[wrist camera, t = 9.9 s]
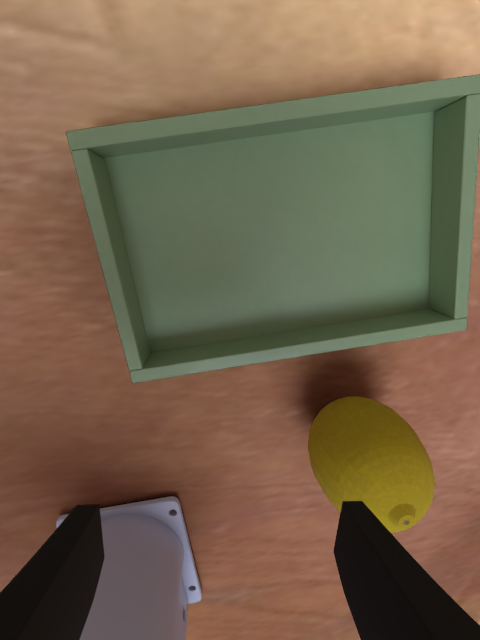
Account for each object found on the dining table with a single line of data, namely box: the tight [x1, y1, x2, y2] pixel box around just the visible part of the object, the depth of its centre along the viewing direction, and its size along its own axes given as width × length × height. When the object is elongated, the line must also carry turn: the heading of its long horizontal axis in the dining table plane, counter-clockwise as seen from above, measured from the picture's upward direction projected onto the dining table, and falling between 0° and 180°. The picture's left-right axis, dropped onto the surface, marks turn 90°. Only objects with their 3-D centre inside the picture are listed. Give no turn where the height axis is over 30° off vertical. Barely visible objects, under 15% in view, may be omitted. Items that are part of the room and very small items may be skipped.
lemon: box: [308, 396, 435, 533], centre depth 17 cm, size 6×6×8 cm
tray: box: [66, 74, 480, 383], centre depth 16 cm, size 11×17×3 cm, turn 98°
